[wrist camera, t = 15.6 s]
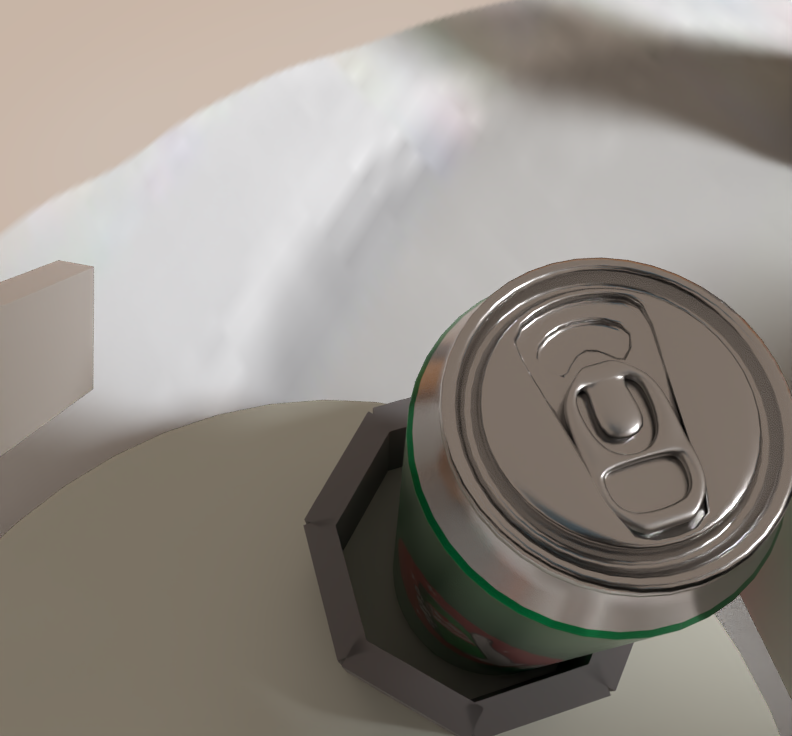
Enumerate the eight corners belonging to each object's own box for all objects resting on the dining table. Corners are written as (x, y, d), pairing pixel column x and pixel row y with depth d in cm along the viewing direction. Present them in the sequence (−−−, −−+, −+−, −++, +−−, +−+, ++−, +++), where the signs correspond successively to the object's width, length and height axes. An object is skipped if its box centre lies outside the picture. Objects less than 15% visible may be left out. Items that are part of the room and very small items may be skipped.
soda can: (540, 459, 21) (712, 194, 10) (613, 640, 19) (922, 549, 8) (369, 510, 20) (358, 284, 10) (426, 704, 19) (495, 697, 8)
